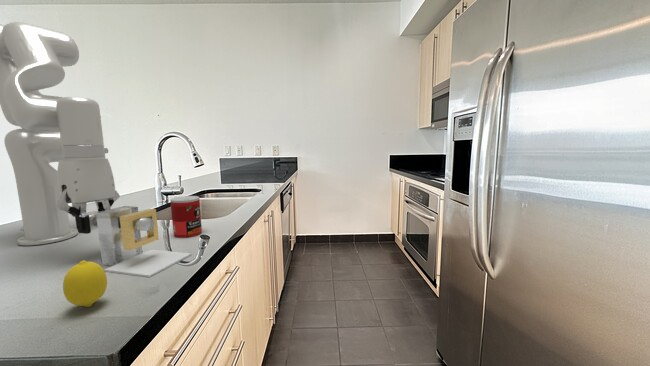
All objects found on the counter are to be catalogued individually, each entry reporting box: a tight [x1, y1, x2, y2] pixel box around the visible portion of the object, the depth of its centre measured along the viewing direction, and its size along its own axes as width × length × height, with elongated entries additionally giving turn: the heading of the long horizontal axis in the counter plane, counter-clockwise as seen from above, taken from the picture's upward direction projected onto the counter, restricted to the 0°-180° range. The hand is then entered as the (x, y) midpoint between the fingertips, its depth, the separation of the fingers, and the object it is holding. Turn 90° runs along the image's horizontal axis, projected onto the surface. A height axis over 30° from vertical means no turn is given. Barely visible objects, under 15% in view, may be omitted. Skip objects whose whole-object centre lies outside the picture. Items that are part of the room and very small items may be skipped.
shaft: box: [86, 210, 154, 232], centre depth 66 cm, size 18×4×4 cm, turn 75°
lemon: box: [62, 260, 108, 308], centre depth 47 cm, size 6×6×8 cm
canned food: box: [170, 195, 203, 239], centre depth 85 cm, size 8×8×11 cm
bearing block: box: [96, 205, 144, 267], centre depth 66 cm, size 4×7×12 cm, turn 165°
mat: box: [103, 249, 192, 278], centre depth 65 cm, size 12×12×1 cm
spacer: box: [120, 208, 160, 251], centre depth 65 cm, size 2×7×7 cm, turn 165°
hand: (94, 229), depth 68 cm, fingers closed on shaft, 3 cm apart
